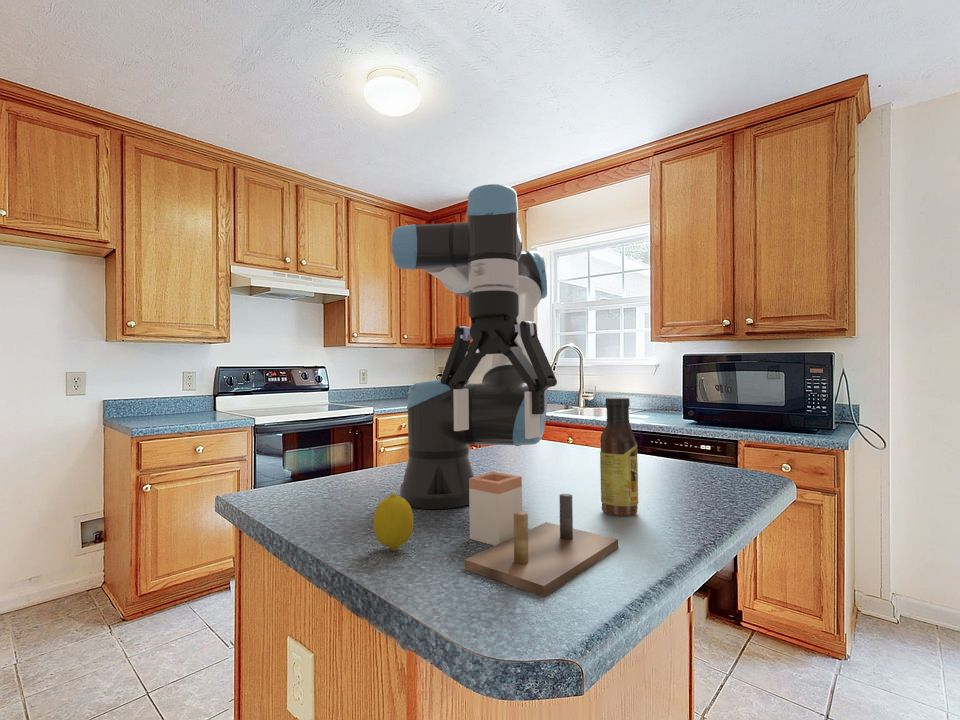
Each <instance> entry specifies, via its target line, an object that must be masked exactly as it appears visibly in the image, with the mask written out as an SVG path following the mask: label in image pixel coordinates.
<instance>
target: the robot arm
mask: <svg viewBox="0 0 960 720" xmlns="http://www.w3.org/2000/svg"><path fill="white" fill-rule="evenodd" d="M517 196H518V194H517V192H516V190H515V189H514V188H512V187H510V186H508V185H505V184H498V183H493V184H492V183H491V184H484V185H479V186H477V187H474V188H473V189H471V190H470V191H469V194H468V195H467V210H466V215H467V221H465V222H452V223H450V222H449V223H426V224H425V223H423V224H415V223H411V224H408V225H400V226H397V227H395V229H394V230H393V231H392V235H391V241H390V242H391V253H392V259H393V261H394V262H393V263H394V265H395V266H396V267H397V268H398V269H401V270H410V271H415V270H423V271H425V272H426V273H428V274H430V275H431V276H433V277H435V279H436V278H437V280H439V281H440V282H441V284H442V285H443V287H444V288H445V289H446V290H447V291H449V292H451V293H453V294H455V295H458V296H460V297H464V298H467V299H468V316H469V318H470V319H471V325H470V326H463V325H462V326H461V325H457V326H455V329H454V340H453V343H452V346H451V349H450V352H449V354H448V357H447V361H446V363H445V367H444V369H443V371H442V375H441V377H440V379H436V380H430V381H429V380H428V381H422V382H421V381H420V382H415V383H413V384H412V385H411V386H410V387H409V389H408V392H407V393H408V395H407V406H406V410H407V433H408V434H407V438H408V440H407V442H408V444H407V447H408V459H407V464H406V468H405V471H404V476H403V480H402V483H401V484H400V487H399V496H400V497H402V498H404V499H405V500H406V501H407V502H408V503H409V504H410V506H411V508H416V509H424V510H425V509H426V510H443V509H444V510H445V509H454V508H459V507H465V506H468V505H469V478H472V477H475V475H474V472H473V468H472V467H473V466H472V465H471V462H470V454H469V451H470V450H469V447H470V445H479V446H480V445H482V446H483V445H485V446H490V445H491V446H494V445H495V446H515V447H520V446H528V445H529V446H530V445H537V444H538V443H540V441H541V440H542V438H543V436H544V432H545V427H546V420H547V408H548V393H549V391H548V389H549V388H552V387H556V386H557V384H558V381H557V378H556V375H555V374H554V371H553V369H552V366H551V364H550V362H549V359H548V357H547V356H546V355H547V354H546V353H545V351H544V348H543V345H542V344H541V341H540V339H539V337H538V328H537V323H536V322H535V308H536V307H538V305H539V304H540V302H541V300H543V299H546V297H547V295H548V283H547V282H548V279H547V272H546V263H545V259H544V256H543V254H542V253H541V252H539V251H535V250H533V251H529V250H524V251H523V238H522V235H521V231H520V227H519V222H518V221H519V220H518V219H519V217H518V215H519V214H518V212H519V207H518V197H517ZM471 340H472V341H471ZM470 342H471V343H470ZM486 355H492V357H491V368H489V369H487V371H486V372H485V373H484V375H483V376H482V377H483V378H482V380H481V381H482V382H480V383H478V382H477V383H470V380H469V379H470V378H471V376H472V375H473V373H474V371H475V370H476V369H477V367H478V366H479V363H480V362H481V361H482V359H483V358H484V357H486Z"/></svg>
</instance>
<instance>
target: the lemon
mask: <svg viewBox="0 0 960 720" xmlns="http://www.w3.org/2000/svg"><path fill="white" fill-rule="evenodd" d="M373 516H374V517H373V530H374V534H375V537H376V539H377V541H378V542H379V543H380V544H382V546H385V547H387V548H388V549H390V550H391V551H393V552H395V551H397V550H398V549H399V547H401V546H403V545H404V544H405V543H407V542H408V540H409V539H410V537H411V536H412V533H413V532H414V513H413V509H412V507H411V506H410V504H409V503H408V502H407V501H406V500H405V499H404V498H402V497H400V495H397V493H390V495H389V496H387V497H385V498H384V499H382V500H381V501H380V502H379V503H378V504H377V507H376V509H375V511H374V515H373Z"/></svg>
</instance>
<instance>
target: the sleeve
mask: <svg viewBox="0 0 960 720" xmlns="http://www.w3.org/2000/svg"><path fill="white" fill-rule="evenodd" d="M522 481H523V478H522V476H520V475H514V474H509V473H503V472H497V471H490V472H487V473H483V474H479V475H476V476H474V477H472V478H469V504H468V505H469V539H470V540H473V541H477V542H480V543H484V544H488V545H490V546H492V547H493V546H495V545H498V544H500V543H502V542H504V541H506V540H508V539H511V538H513V537H514V513H515V512H523V486H522V484H523V483H522Z"/></svg>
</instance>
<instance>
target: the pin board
mask: <svg viewBox="0 0 960 720" xmlns="http://www.w3.org/2000/svg"><path fill="white" fill-rule="evenodd" d="M573 511H574V510H573V494H571V493H561V494H559V524H555V523H551V522H546V521H545V522H543V523H541V524H538V525H537V526H535V527H533V528H530V529H529V513H528V512H525V511H522V512H515V513H514V537H513V538H511V539H508V540H506V541H504V542H502V543H500V544H498V545H495V546H493V545H492V546H491V547H489V548H487V549H485V550H483V551H480V552H478V553H476V554H474V555H471V556H470V557H467V558H465V559H464V570H466V571H469V572H471V573H475V574H477V575H480V576H483V577H486V578H489V579H492V580H494V581H496V582H497V581H498V582H500V583H503V584H507V585H509V586H512V587H515V588H517V589H521V590H524V591H527V592H529V593H533V594H534V595H538V596H540V597H541V596H542V597H546V596H548V595H549V594H551V593H552V592H554V591H555V590H557V589H558V588H561V586H563V585H565V584H566V583H567V582H569V581H570V580H572V579H573V578H575V577H577V576H578V575H580V574H581V573H583V572H584V571H585V570H587V569H589V568H590V567H591V566H593V565H595V564H596V563H597V562H599V561H601V560H602V559H603V558H605V557H606V556H608V555H609V554H611V553H612V552H614V551H615V550H617V549H618V548H619V538H615V537H611V536H607V535H602V534H597V533H593V532H590V531H585V530H581V529H578V528H577V529H576V528H573V527H574V526H573V521H574V520H573V519H574V517H573Z"/></svg>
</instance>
